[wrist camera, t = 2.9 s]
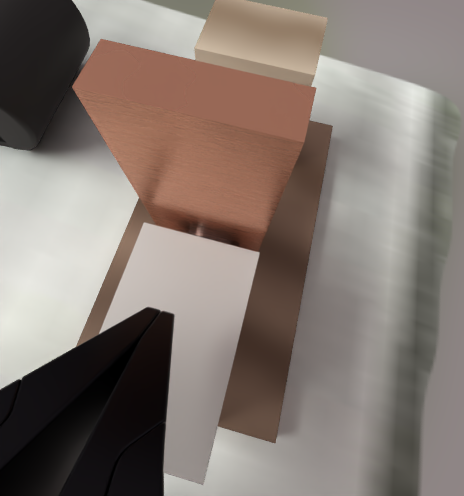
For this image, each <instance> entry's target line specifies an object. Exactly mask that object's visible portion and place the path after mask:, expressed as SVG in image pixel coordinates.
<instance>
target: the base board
mask: <svg viewBox="0 0 464 496" xmlns="http://www.w3.org/2000/svg"><path fill="white" fill-rule="evenodd" d="M332 127H333V126H331V125H326V124H322V123H318V122H313V121H309V124H308V128H307V133H306V137H305V142H304V145H303V147H302V149H301V152H300V154H299V156H298V159H297V161H296V163H295V166H294V168H293V171H292V173H291V175H290V178H289V180H288V182H287V185H286V187H285V189H284V192H283V194H282V197H281V199H280V201H279V204H278V206H277V208H276V211H275V213H274V215H273V218H272V220H271V223H270V225H269V227H268V230H267V232H266V234H265V237H264V239H263V241H262V244H261V246H260V249H259V251H258V252H259V253H260V254H259V258H258V262H257V266H256V270H255V274H254V278H253V282H252V287H251V291H250V295H249V299H248V303H247V307H246V311H245V315H244V319H243V324H242V328H241V332H240V336H239V340H238V344H237V348H236V352H235V356H234V361H233V365H232V369H231V373H230V377H229V381H228V385H227V389H226V393H225V398H224V402H223V406H222V410H221V414H220V418H219V422H218V426H219V427H222V428H225V429H229V430H232V431H236V432H239V433H242V434H246V435H249V436H252V437H256V438H259V439H262V440H266V441H269V442H272V443H276V437H277V431H278V426H279V420H280V415H281V409H282V404H283V398H284V393H285V387H286V382H287V376H288V371H289V365H290V359H291V354H292V348H293V343H294V337H295V332H296V326H297V321H298V315H299V310H300V304H301V299H302V293H303V287H304V282H305V276H306V271H307V265H308V260H309V254H310V249H311V243H312V238H313V232H314V227H315V221H316V216H317V210H318V204H319V199H320V193H321V188H322V182H323V177H324V171H325V166H326V160H327V155H328V149H329V144H330V138H331V132H332ZM144 222H145V223H148V224H152V225H156V224H155V222H154V221H153V219H152V217H151V216H150V214H149V212H148V211H147V209H146V208H145V206H144V204H143V203H142V201H141V199H140V198H139V199H138V202H137V204H136V206H135V209H134V211H133V213H132V216H131V218H130V221H129V223H128V225H127V228H126V230H125V232H124V235H123V237H122V239H121V242H120V244H119V247H118V249H117V251H116V254H115V256H114V258H113V261H112V263H111V265H110V268H109V270H108V272H107V275H106V277H105V280H104V282H103V284H102V287H101V289H100V291H99V294H98V296H97V298H96V301H95V303H94V306H93V308H92V310H91V313H90V315H89V317H88V320H87V322H86V324H85V327H84V329H83V332H82V334H81V336H80V339H79V341H78V343H77V346H79V345H80V344H82V343H84V342H86V341H87V340H89V339H91V338H93V337H95V336H96V335H98V334H99V332H100V330H101V327H102V325H103V323H104V320H105V318H106V315H107V313H108V310H109V308H110V305H111V303H112V300H113V298H114V295H115V293H116V290H117V288H118V285H119V283H120V280H121V278H122V275H123V273H124V271H125V268H126V266H127V263H128V261H129V258H130V256H131V253H132V251H133V248H134V246H135V243H136V241H137V238H138V236H139V233H140V231H141V228H142V226H143V223H144ZM77 346H76V347H77Z"/></svg>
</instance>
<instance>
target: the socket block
mask: <svg viewBox="0 0 464 496" xmlns="http://www.w3.org/2000/svg"><path fill="white" fill-rule="evenodd" d="M326 24H327V18H326V17H321V16H316V15H311V14H307V13H302V12H297V11H293V10H288V9H283V8H278V7H274V6H269V5H265V4H259V3H255V2H251V1H246V0H215V2H214V5H213V7H212V9H211V11H210V14H209V16H208V18H207V20H206V23H205V25H204V27H203V30H202V32H201V34H200V36H199V39H198V41H197V43H196V46H195V48H194V49H195V59H196V61H200V62H205V63H209V64H214V65H218V66H222V67H227V68H231V69H236V70H240V71H244V72H249V73H253V74H258V75H262V76H266V77H271V78H275V79H280V80H284V81H288V82H293V83H297V84H302V85H306V86H310V87H311V85H312V82H313V79H314V77H315V73H316V68H317V64H318V60H319V55H320V51H321V46H322V41H323V37H324V33H325V28H326Z"/></svg>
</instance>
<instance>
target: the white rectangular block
mask: <svg viewBox="0 0 464 496" xmlns="http://www.w3.org/2000/svg"><path fill="white" fill-rule="evenodd" d="M259 254H260V253H259V252H255V251H252V250H248V249H244V248H240V247H236V246H233V245H229V244H225V243H221V242H217V241H213V240H210V239H206V238H202V237H198V236H194V235H191V234H187V233H183V232H179V231H175V230H171V229H168V228H164V227H160V226H156V225H152V224H148V223H145V222H144V223H143V226H142V228H141V231H140V233H139V236H138V238H137V241H136V243H135V246H134V248H133V251H132V253H131V256H130V258H129V261H128V263H127V266H126V268H125V271H124V273H123V275H122V278H121V280H120V283H119V285H118V288H117V290H116V293H115V295H114V298H113V300H112V303H111V305H110V308H109V310H108V313H107V315H106V318H105V320H104V323H103V325H102V327H101V330H100V332H99V334H100V333H102V332H103V331H105V330H107V329H109V328H110V327H112V326H114V325H116V324H118V323H119V322H121V321H123V320H125V319H126V318H128V317H130V316H132V315H134V314H135V313H137V312H139V311H141V310H142V309H144V308H146V307H152V308H156V309H159V310H160V311H167V312H170V313H173V314H174V315H175V318H174V331H173V343H172V356H171V368H170V381H169V394H168V406H167V419H166V433H165V449H164V473H167V474H170V475H173V476H176V477H180V478H183V479H186V480H189V481H192V482H196V483H199V484H202V485H203V484H204V480H205V476H206V472H207V467H208V463H209V459H210V455H211V451H212V447H213V443H214V439H215V435H216V430H217V426H218V422H219V418H220V414H221V410H222V406H223V402H224V398H225V393H226V389H227V385H228V381H229V377H230V373H231V369H232V365H233V361H234V356H235V352H236V348H237V344H238V340H239V336H240V332H241V328H242V324H243V319H244V315H245V311H246V307H247V303H248V299H249V295H250V291H251V287H252V282H253V278H254V274H255V270H256V266H257V262H258V258H259Z"/></svg>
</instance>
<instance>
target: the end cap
mask: <svg viewBox="0 0 464 496" xmlns="http://www.w3.org/2000/svg"><path fill="white" fill-rule="evenodd" d="M89 46H90V38H89V32H88V29H87V26H86V23H85V21H84V19H83V17H82V15H81V13H80V11H79V10H78V8H77V7H76V5H75V4H74V3H73V1H72V0H0V145H2V146H7V147H11V148H14V149H20V150H31V149H33V148H34V147H36V146H37V144H38V143H39V141H40V139H41V137H42V135H43V133H44V131H45V130H46V128H47V126H48V124H49V122H50V120H51V118H52V117H53V115H54V113H55V111H56V109H57V107H58V105H59V104H60V102H61V100H62V98H63V96H64V94H65V92H66V91H67V89H68V87H69V85H70V83H71V81H72V79H73V78H74V76H75V74H76V72H77V70H78V68H79V66H80V65H81V63H82V61H83V59H84V57H85V55H86V53H87V52H88V49H89Z"/></svg>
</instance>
